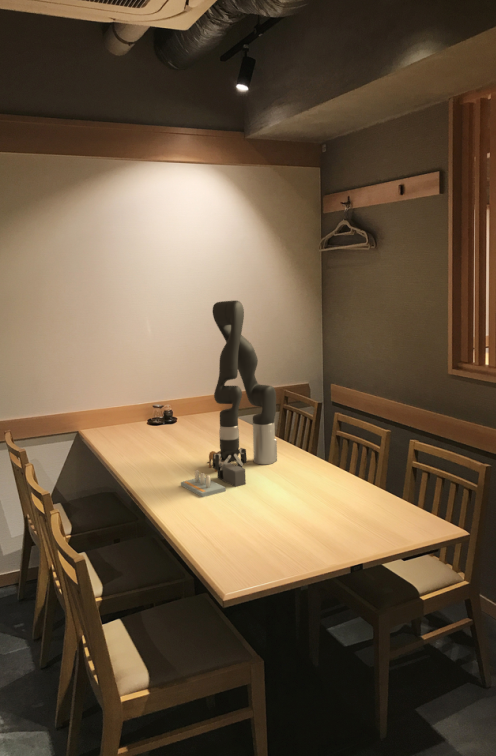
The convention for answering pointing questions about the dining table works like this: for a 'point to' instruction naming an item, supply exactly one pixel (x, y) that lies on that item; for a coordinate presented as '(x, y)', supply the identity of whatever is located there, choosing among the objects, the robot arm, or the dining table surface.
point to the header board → (202, 485)
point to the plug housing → (233, 474)
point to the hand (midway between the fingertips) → (230, 476)
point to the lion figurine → (212, 458)
